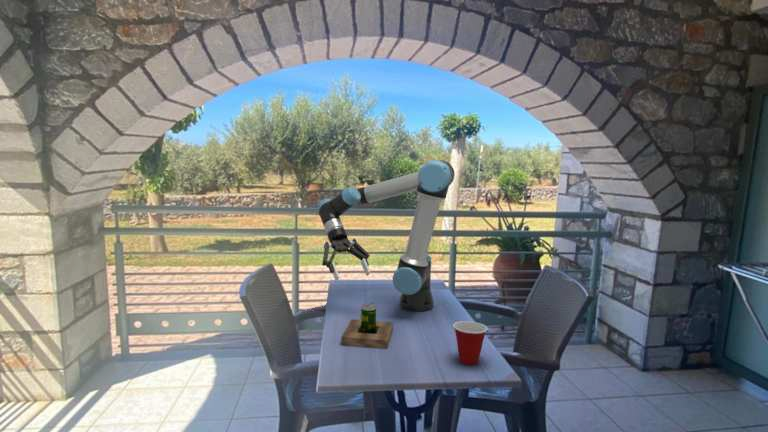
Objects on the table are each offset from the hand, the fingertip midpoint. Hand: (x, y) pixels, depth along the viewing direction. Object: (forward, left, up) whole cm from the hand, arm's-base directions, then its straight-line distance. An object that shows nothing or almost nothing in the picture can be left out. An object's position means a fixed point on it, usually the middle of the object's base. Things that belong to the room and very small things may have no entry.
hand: (353, 276), depth 162 cm
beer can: (-8, +12, -19) cm, 24 cm away
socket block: (-8, +12, -18) cm, 24 cm away
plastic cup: (-43, +24, -19) cm, 53 cm away
